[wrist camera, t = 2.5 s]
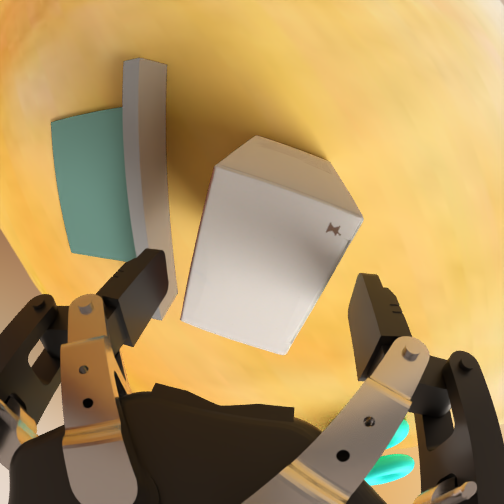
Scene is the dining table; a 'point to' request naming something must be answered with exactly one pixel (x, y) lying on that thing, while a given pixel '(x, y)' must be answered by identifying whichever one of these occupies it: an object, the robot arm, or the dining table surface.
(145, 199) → the divider wall
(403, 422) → the donuts
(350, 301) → the robot arm
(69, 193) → the mat
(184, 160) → the dining table surface
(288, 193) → the small box
